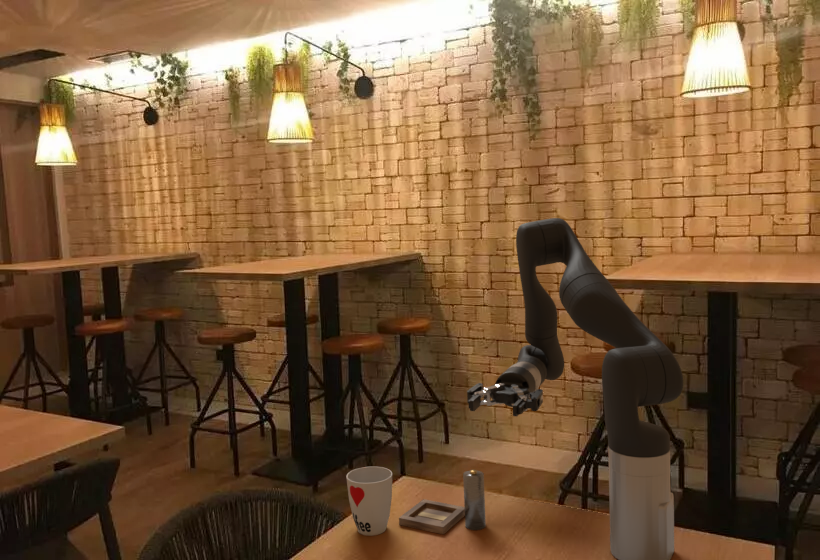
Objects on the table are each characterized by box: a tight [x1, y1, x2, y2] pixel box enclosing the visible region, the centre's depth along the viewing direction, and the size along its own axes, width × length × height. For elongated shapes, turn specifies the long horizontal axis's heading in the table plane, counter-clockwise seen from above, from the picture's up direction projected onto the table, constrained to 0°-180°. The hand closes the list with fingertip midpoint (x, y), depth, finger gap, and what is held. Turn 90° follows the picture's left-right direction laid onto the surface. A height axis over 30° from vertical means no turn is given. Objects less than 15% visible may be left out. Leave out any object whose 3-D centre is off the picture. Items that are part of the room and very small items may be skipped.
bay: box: [398, 498, 465, 535], centre depth 126 cm, size 9×9×1 cm
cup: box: [345, 466, 393, 536], centre depth 122 cm, size 8×8×10 cm
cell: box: [462, 469, 487, 531], centre depth 122 cm, size 4×4×10 cm
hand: (492, 408), depth 129 cm, fingers open, 8 cm apart
